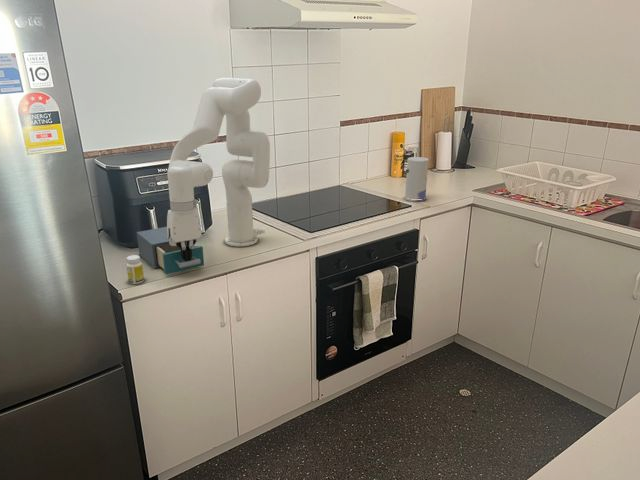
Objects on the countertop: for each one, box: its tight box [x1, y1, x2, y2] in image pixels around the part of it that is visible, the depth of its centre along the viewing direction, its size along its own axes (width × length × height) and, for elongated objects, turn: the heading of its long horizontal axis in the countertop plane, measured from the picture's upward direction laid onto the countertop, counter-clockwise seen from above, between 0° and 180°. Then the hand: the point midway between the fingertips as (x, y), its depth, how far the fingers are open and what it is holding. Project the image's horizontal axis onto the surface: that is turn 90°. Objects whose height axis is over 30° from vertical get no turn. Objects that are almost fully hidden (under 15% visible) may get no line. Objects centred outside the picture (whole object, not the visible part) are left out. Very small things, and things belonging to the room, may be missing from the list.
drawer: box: [155, 241, 205, 275], centre depth 187 cm, size 20×14×7 cm
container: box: [404, 156, 430, 203], centre depth 268 cm, size 10×10×20 cm
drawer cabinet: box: [136, 226, 170, 270], centre depth 196 cm, size 16×15×9 cm
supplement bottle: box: [126, 254, 145, 285], centre depth 176 cm, size 5×5×8 cm
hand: (187, 259), depth 181 cm, fingers closed
